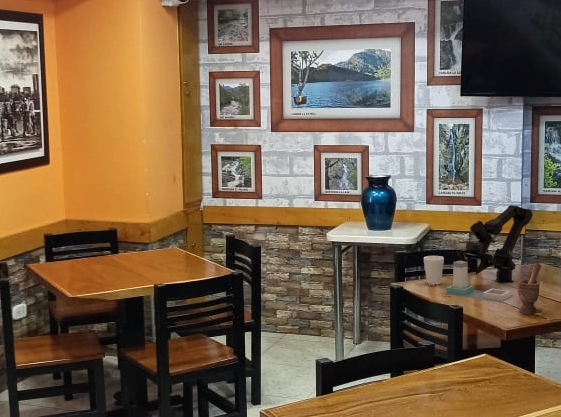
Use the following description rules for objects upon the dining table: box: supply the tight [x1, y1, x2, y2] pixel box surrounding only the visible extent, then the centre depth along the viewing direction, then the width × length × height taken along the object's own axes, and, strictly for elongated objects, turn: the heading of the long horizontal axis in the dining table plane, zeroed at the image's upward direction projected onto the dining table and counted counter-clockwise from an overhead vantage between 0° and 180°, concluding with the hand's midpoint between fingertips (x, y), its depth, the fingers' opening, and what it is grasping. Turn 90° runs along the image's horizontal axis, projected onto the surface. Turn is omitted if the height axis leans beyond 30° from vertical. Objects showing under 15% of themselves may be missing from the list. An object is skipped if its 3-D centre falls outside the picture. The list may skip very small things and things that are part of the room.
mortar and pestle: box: [517, 262, 542, 315], centre depth 339 cm, size 12×9×20 cm
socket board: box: [442, 284, 515, 304], centre depth 366 cm, size 28×14×4 cm, turn 51°
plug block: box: [452, 260, 469, 289], centre depth 370 cm, size 4×4×14 cm
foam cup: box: [423, 255, 445, 284], centre depth 390 cm, size 10×9×13 cm
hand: (468, 272), depth 374 cm, fingers open, 9 cm apart
